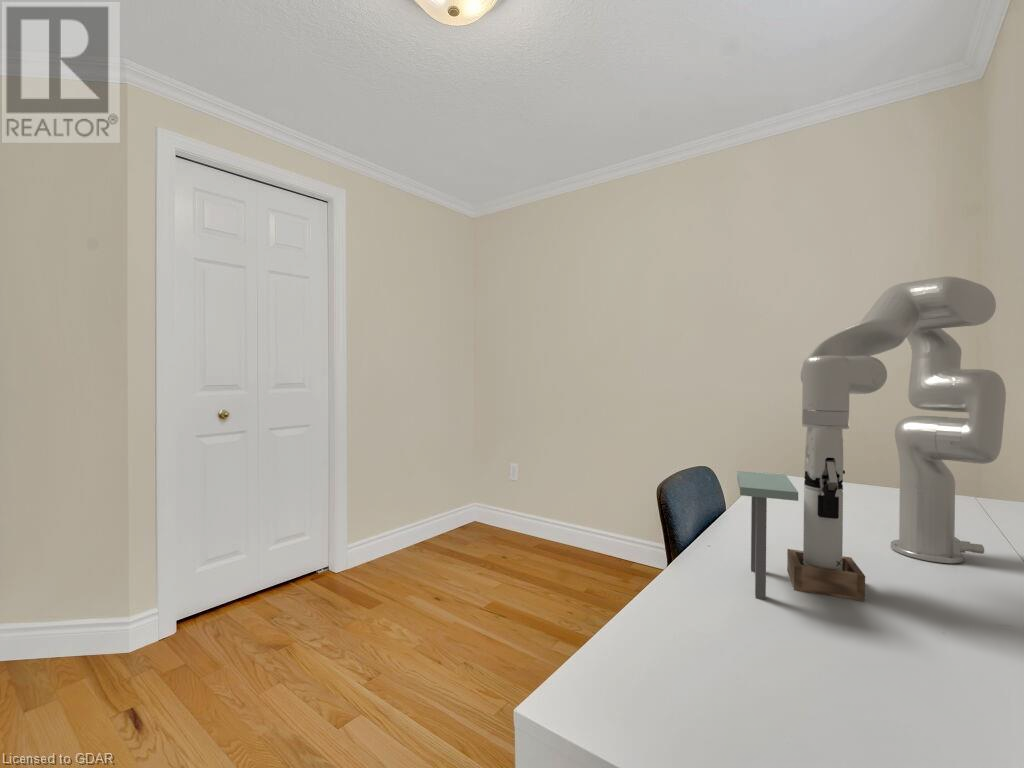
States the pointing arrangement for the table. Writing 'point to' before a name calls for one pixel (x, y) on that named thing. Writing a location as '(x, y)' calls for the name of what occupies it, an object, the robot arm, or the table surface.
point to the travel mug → (821, 529)
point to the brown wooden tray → (826, 577)
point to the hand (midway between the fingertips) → (824, 511)
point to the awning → (762, 515)
